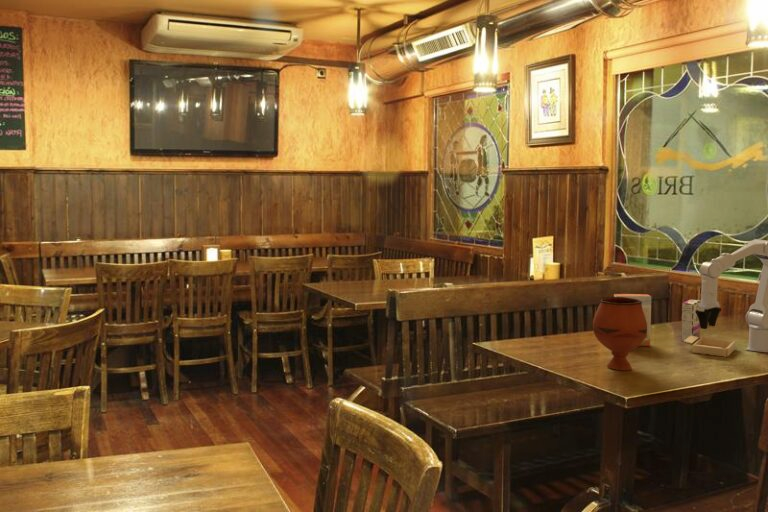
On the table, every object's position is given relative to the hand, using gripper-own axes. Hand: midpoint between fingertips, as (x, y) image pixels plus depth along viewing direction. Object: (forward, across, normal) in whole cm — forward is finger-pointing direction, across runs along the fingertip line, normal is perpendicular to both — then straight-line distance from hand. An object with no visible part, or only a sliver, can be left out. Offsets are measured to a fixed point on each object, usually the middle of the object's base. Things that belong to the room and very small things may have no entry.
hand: (707, 327), depth 299 cm
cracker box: (+11, -7, +28) cm, 31 cm away
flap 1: (+7, +4, +8) cm, 11 cm away
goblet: (+10, -45, +13) cm, 48 cm away
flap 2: (+7, -4, -2) cm, 8 cm away
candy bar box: (+11, +20, +16) cm, 27 cm away
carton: (+10, +6, 0) cm, 12 cm away
